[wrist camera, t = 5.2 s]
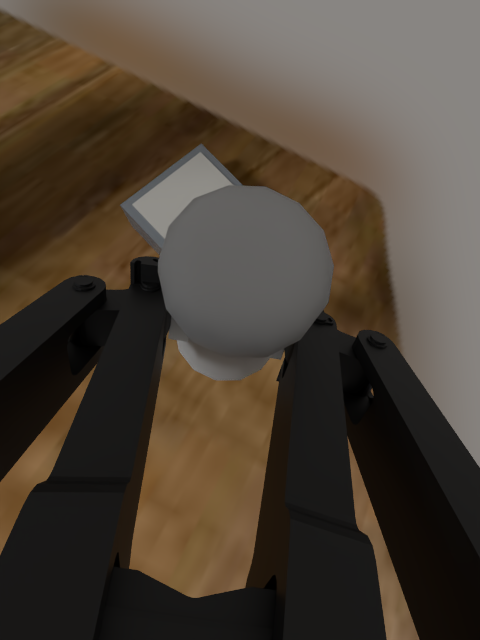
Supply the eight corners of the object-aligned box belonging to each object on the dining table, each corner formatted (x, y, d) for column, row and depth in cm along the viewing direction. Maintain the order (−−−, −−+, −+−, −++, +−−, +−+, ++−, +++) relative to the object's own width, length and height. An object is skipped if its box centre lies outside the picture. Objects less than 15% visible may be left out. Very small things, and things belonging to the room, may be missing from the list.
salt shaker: (219, 271, 20) (232, 91, 7) (288, 326, 20) (426, 237, 7) (159, 341, 19) (51, 272, 6) (232, 399, 19) (278, 453, 6)
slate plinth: (131, 225, 32) (119, 203, 28) (202, 170, 34) (201, 141, 30) (196, 294, 31) (193, 281, 27) (265, 233, 33) (272, 213, 29)
